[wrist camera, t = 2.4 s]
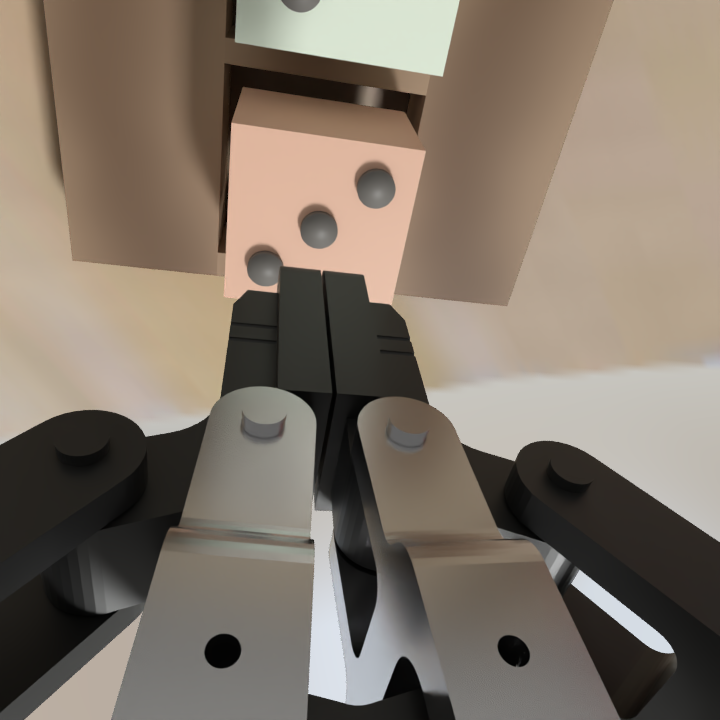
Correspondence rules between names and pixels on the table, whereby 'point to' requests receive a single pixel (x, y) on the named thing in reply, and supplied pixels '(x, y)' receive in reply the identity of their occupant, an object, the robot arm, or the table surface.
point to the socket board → (219, 50)
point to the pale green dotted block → (354, 30)
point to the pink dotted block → (318, 191)
